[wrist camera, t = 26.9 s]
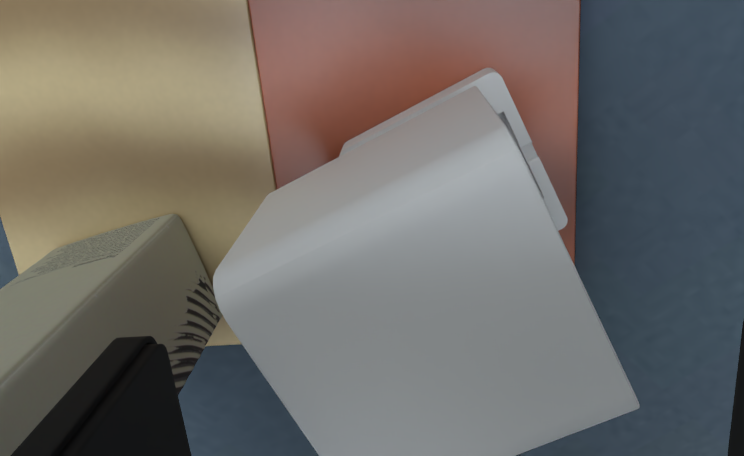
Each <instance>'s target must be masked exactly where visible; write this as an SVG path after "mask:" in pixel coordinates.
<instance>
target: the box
mask: <svg viewBox="0 0 744 456" xmlns="http://www.w3.org/2000/svg"><path fill="white" fill-rule="evenodd" d="M221 317H222V313H221V312H220V309H219V307H218V304H217V302H216V299H215V295H214V290H213V288H212V285H211V283H210V280H209V278H208V276H207V273H206V271H205V269H204V266H203V264H202V262H201V260H200V257H199V255H198V253H197V251H196V249H195V247H194V245H193V243H192V241H191V239H190V237H189V235H188V232H187V230H186V228H185V226H184V224H183V222H182V220H181V219H180V217H179V216H178V215H176V214H168V215H164V216H160V217H157V218H153V219H149V220H145V221H142V222H138V223H135V224H131V225H128V226H124V227H121V228H118V229H114V230H111V231H108V232H105V233H101V234H98V235H95V236H92V237H89V238H86V239H83V240H80V241H76V242H73V243H71V244H68V245H64V246H62V247H59V248H56V249H54V250H52V251H51V252H49V253H48V254H47V255H46V256H44V257H43V258H42V259H40V260H39V261H38V262H37V263H35V264H34V265H32V266H31V267H30V268H28V269H27V270H26V271H24V272H23V273H22V274H20V275H19V276H18V277H16V278H15V279H14V280H12V281H11V282H9V283H8V284H7V285H5V286H4V287H3V288H1V289H0V456H10V455H11V454H12V453H13V452H14V451H15V450H16V449H17V448H18V446H19V445H20V444H21V443H22V442H23V441H24V440H25V439H26V438H27V436H28V435H29V434H30V433H31V432H32V431H33V430H34V429H35V427H36V426H37V425H38V424H39V423H40V422H41V421H42V420H43V418H44V417H45V416H46V415H47V414H48V413H49V412H50V411H51V409H52V408H53V407H54V406H55V405H56V404H57V403H58V402H59V401H60V399H61V398H62V397H63V396H64V395H65V394H66V393H67V392H68V390H69V389H70V388H71V387H72V386H73V385H74V384H75V383H76V381H77V380H78V379H79V378H80V377H81V376H82V375H83V374H84V372H85V371H86V370H87V369H88V368H89V367H90V366H91V365H92V363H93V362H94V361H95V360H96V359H97V358H98V357H99V356H100V355H101V353H102V352H103V351H104V350H105V349H106V348H107V347H108V346H109V344H110V343H111V342H112V341H113V340H114V339H116V338H120V337H138V336H152V337H153V338H154V339H155V340H156V342H157V344H163V345H165V347H166V348H167V351H168V355H169V359H170V364H171V368H172V373H173V377H174V382H175V386H176V390H177V395H178V394H179V392H180V391H181V389H182V388H183V386H184V384H185V382H186V380H187V378H188V376H189V375H190V373H191V372H192V370H193V368H194V366H195V364H196V362H197V360H198V359H199V357H200V355H201V353H202V351H203V350H204V348H205V346H206V344H207V342H208V341H209V338H210V336H211V335H212V333H213V331H214V329H215V328H216V326H217V324H218V322H219V321H220V319H221Z"/></svg>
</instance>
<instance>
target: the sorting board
mask: <svg viewBox="0 0 744 456" xmlns="http://www.w3.org/2000/svg"><path fill="white" fill-rule="evenodd" d="M580 8H581V0H0V217H1V220H2V223H3V226H4V229H5V233H6V236H7V239H8V242H9V245H10V248H11V251H12V255H13V258H14V261H15V264H16V267H17V270H18V273H19V275H20V274H22V273H23V272H24V271H26V270H27V269H28V268H30V267H31V266H32V265H34V264H35V263H37V262H38V261H39V260H40V259H42V258H43V257H44V256H46V255H47V254H48V253H49V252H51V251H52V250H54V249H56V248H59V247H62V246H64V245H68V244H71V243H73V242H76V241H80V240H83V239H86V238H89V237H92V236H95V235H98V234H101V233H105V232H108V231H111V230H114V229H118V228H121V227H124V226H128V225H131V224H135V223H138V222H142V221H145V220H149V219H153V218H157V217H160V216H164V215H168V214H176V215H178V216H179V217H180V219H181V220H182V222H183V224H184V226H185V228H186V230H187V232H188V235H189V237H190V239H191V241H192V243H193V245H194V247H195V249H196V251H197V253H198V255H199V257H200V260H201V262H202V264H203V266H204V269H205V271H206V273H207V276H208V278H209V280H210V283H211V285H212V288H213V276H214V273H215V271H216V269H217V267H218V266H219V265H220V263H221V262H222V260H223V259H224V257H225V256H226V254H227V253H228V251H229V250H230V249H231V247H232V246H233V244H234V243H235V241H236V240H237V238H238V237H239V236H240V234H241V233H242V231H243V230H244V228H245V227H246V225H247V224H248V222H249V221H250V220H251V218H252V217H253V215H254V214H255V212H256V211H257V209H258V208H259V207H260V205H261V204H262V202H263V201H264V199H265V198H266V196H267V195H268V194H269V193H271V192H273V191H275V190H277V189H279V188H281V187H283V186H285V185H286V184H288V183H290V182H292V181H294V180H296V179H298V178H300V177H302V176H304V175H305V174H307V173H309V172H311V171H313V170H315V169H317V168H319V167H321V166H323V165H325V164H326V163H328V162H330V161H332V160H334V159H336V158H338V157H339V155H340V152H341V150H342V147H343V145H344V144H345V142H347V141H348V140H350V139H352V138H354V137H356V136H358V135H360V134H362V133H363V132H365V131H367V130H369V129H371V128H373V127H375V126H377V125H379V124H380V123H382V122H384V121H386V120H388V119H390V118H392V117H394V116H395V115H397V114H399V113H401V112H403V111H405V110H407V109H409V108H411V107H412V106H414V105H416V104H418V103H420V102H422V101H424V100H426V99H428V98H429V97H431V96H433V95H435V94H437V93H439V92H441V91H443V90H445V89H446V88H448V87H450V86H452V85H454V84H456V83H458V82H460V81H462V80H463V79H465V78H467V77H469V76H471V75H473V74H475V73H477V72H479V71H480V70H482V69H485V68H492V69H494V70H495V71H496V72H497V73H499V74H500V75H501V77H502V78H503V80H504V83H505V85H506V87H507V89H508V91H509V93H510V95H511V98H512V100H513V102H514V104H515V106H516V108H517V111H518V113H519V115H520V117H521V119H522V121H523V123H524V126H525V128H526V130H527V132H528V134H529V136H530V139H531V141H532V145H533V147H534V149H535V151H536V154H537V156H539V158H540V160H541V162H542V164H543V167H544V169H545V171H546V173H547V175H548V177H549V180H550V182H551V184H552V186H553V188H554V190H555V192H556V195H557V197H558V199H559V201H560V203H561V205H562V208H563V210H564V212H565V214H566V216H567V219H568V221H567V225H566V226H565V227H564V228H563V229H561V230H559V231H558V232H559V234H560V236H561V238H562V240H563V243H564V245H565V247H566V249H567V251H568V253H569V255H570V257H571V259H572V262H573V264H574V266H575V224H576V181H577V138H578V94H579V51H580ZM237 344H241V342H240V341H239V339H238V338H237V336H236V335H235V333H234V332H233V331H232V329H231V328H230V326H229V325H228V323H227V322H226V320H225V318H224V317H223V315H222V317H221V319H220V321H219V322H218V324H217V326H216V328H215V329H214V331H213V333H212V335H211V336H210V338H209V341H208V342H207V344H206V346H218V345H237Z"/></svg>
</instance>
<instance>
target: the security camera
mask: <svg viewBox="0 0 744 456" xmlns="http://www.w3.org/2000/svg"><path fill="white" fill-rule="evenodd" d="M567 221H568V219H567V216H566V214H565V212H564V210H563V208H562V205H561V203H560V201H559V199H558V197H557V195H556V192H555V190H554V188H553V186H552V184H551V182H550V180H549V177H548V175H547V173H546V171H545V169H544V167H543V164H542V162H541V160H540V158H539V156H537V154H536V151H535V149H534V147H533V145H532V141H531V139H530V136H529V134H528V132H527V130H526V128H525V126H524V123H523V121H522V119H521V117H520V115H519V113H518V111H517V108H516V106H515V104H514V102H513V100H512V98H511V95H510V93H509V91H508V89H507V87H506V85H505V83H504V80H503V78H502V77H501V75H500V74H499V73H497V72H496V71H495V70H494V69H492V68H485V69H482V70H480V71H479V72H477V73H475V74H473V75H471V76H469V77H467V78H465V79H463V80H462V81H460V82H458V83H456V84H454V85H452V86H450V87H448V88H446V89H445V90H443V91H441V92H439V93H437V94H435V95H433V96H431V97H429V98H428V99H426V100H424V101H422V102H420V103H418V104H416V105H414V106H412V107H411V108H409V109H407V110H405V111H403V112H401V113H399V114H397V115H395V116H394V117H392V118H390V119H388V120H386V121H384V122H382V123H380V124H379V125H377V126H375V127H373V128H371V129H369V130H367V131H365V132H363V133H362V134H360V135H358V136H356V137H354V138H352V139H350V140H348V141H347V142H345V144H344V145H343V147H342V150H341V152H340V155H339V157H338V158H336V159H334V160H332V161H330V162H328V163H326V164H325V165H323V166H321V167H319V168H317V169H315V170H313V171H311V172H309V173H307V174H305V175H304V176H302V177H300V178H298V179H296V180H294V181H292V182H290V183H288V184H286V185H285V186H283V187H281V188H279V189H277V190H275V191H273V192H271V193H269V194H268V195H267V196H266V198H265V199H264V201H263V202H262V204H261V205H260V207H259V208H258V209H257V211H256V212H255V214H254V215H253V217H252V218H251V220H250V221H249V222H248V224H247V225H246V227H245V228H244V230H243V231H242V233H241V234H240V236H239V237H238V238H237V240H236V241H235V243H234V244H233V246H232V247H231V249H230V250H229V251H228V253H227V254H226V256H225V257H224V259H223V260H222V262H221V263H220V265H219V266H218V267H217V269H216V271H215V273H214V276H213V290H214V295H215V299H216V302H217V304H218V307H219V309H220V312H221V313H222V315H223V317H224V318H225V320H226V322H227V323H228V325H229V326H230V328H231V329H232V331H233V332H234V333H235V335H236V336H237V338H238V339H239V341H240V342H241V344H242V345H243V346H244V348H245V349H246V351H247V352H248V354H249V355H250V357H251V358H252V359H253V361H254V362H255V364H256V365H257V367H258V368H259V370H260V371H261V372H262V374H263V375H264V377H265V378H266V380H267V381H268V383H269V384H270V385H271V387H272V388H273V390H274V391H275V393H276V394H277V396H278V397H279V398H280V400H281V401H282V403H283V404H284V406H285V407H286V409H287V410H288V411H289V413H290V414H291V416H292V417H293V419H294V420H295V422H296V423H297V424H298V426H299V427H300V429H301V430H302V432H303V433H304V435H305V436H306V437H307V439H308V440H309V442H310V443H311V445H312V446H313V448H314V449H315V451H316V452H317V453H318V455H319V456H516V455H518V454H521V453H523V452H526V451H529V450H531V449H534V448H537V447H539V446H542V445H544V444H547V443H550V442H552V441H555V440H558V439H560V438H563V437H565V436H568V435H571V434H573V433H576V432H579V431H581V430H584V429H586V428H589V427H592V426H594V425H597V424H600V423H602V422H605V421H607V420H610V419H613V418H615V417H618V416H621V415H623V414H626V413H628V412H631V411H634V410H636V409H639V407H640V405H639V402H638V400H637V397H636V395H635V393H634V391H633V389H632V386H631V384H630V382H629V380H628V378H627V376H626V374H625V372H624V370H623V367H622V365H621V363H620V361H619V359H618V357H617V355H616V353H615V351H614V348H613V346H612V344H611V342H610V340H609V338H608V336H607V334H606V331H605V329H604V327H603V325H602V323H601V321H600V319H599V317H598V315H597V312H596V310H595V308H594V306H593V304H592V302H591V300H590V298H589V295H588V293H587V291H586V289H585V287H584V285H583V283H582V281H581V279H580V276H579V274H578V272H577V270H576V268H575V266H574V264H573V262H572V259H571V257H570V255H569V253H568V251H567V249H566V247H565V245H564V243H563V240H562V238H561V236H560V234H559V232H558V231H559V230H561V229H563V228H564V227H565V226H566V225H567Z"/></svg>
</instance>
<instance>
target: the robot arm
mask: <svg viewBox="0 0 744 456" xmlns="http://www.w3.org/2000/svg"><path fill="white" fill-rule="evenodd" d="M10 456H191V452H190V448H189V443H188V439H187V435H186V430H185V426H184V421H183V417H182V412H181V408H180V404H179V399H178V395H177V390H176V386H175V382H174V377H173V373H172V368H171V364H170V359H169V355H168V351H167V348H166V347H165V345H163V344H157V342H156V340H155V339H154V338H153V337H152V336H138V337H120V338H116V339H114V340H113V341H112V342H111V343H110V344H109V346H108V347H107V348H106V349H105V350H104V351H103V352H102V353H101V355H100V356H99V357H98V358H97V359H96V360H95V361H94V362H93V363H92V365H91V366H90V367H89V368H88V369H87V370H86V371H85V372H84V374H83V375H82V376H81V377H80V378H79V379H78V380H77V381H76V383H75V384H74V385H73V386H72V387H71V388H70V389H69V390H68V392H67V393H66V394H65V395H64V396H63V397H62V398H61V399H60V401H59V402H58V403H57V404H56V405H55V406H54V407H53V408H52V409H51V411H50V412H49V413H48V414H47V415H46V416H45V417H44V418H43V420H42V421H41V422H40V423H39V424H38V425H37V426H36V427H35V429H34V430H33V431H32V432H31V433H30V434H29V435H28V436H27V438H26V439H25V440H24V441H23V442H22V443H21V444H20V445H19V446H18V448H17V449H16V450H15V451H14V452H13V453H12V454H11V455H10ZM728 456H744V321H743V328H742V336H741V345H740V354H739V362H738V371H737V379H736V388H735V396H734V405H733V413H732V422H731V430H730V439H729V448H728Z"/></svg>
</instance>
